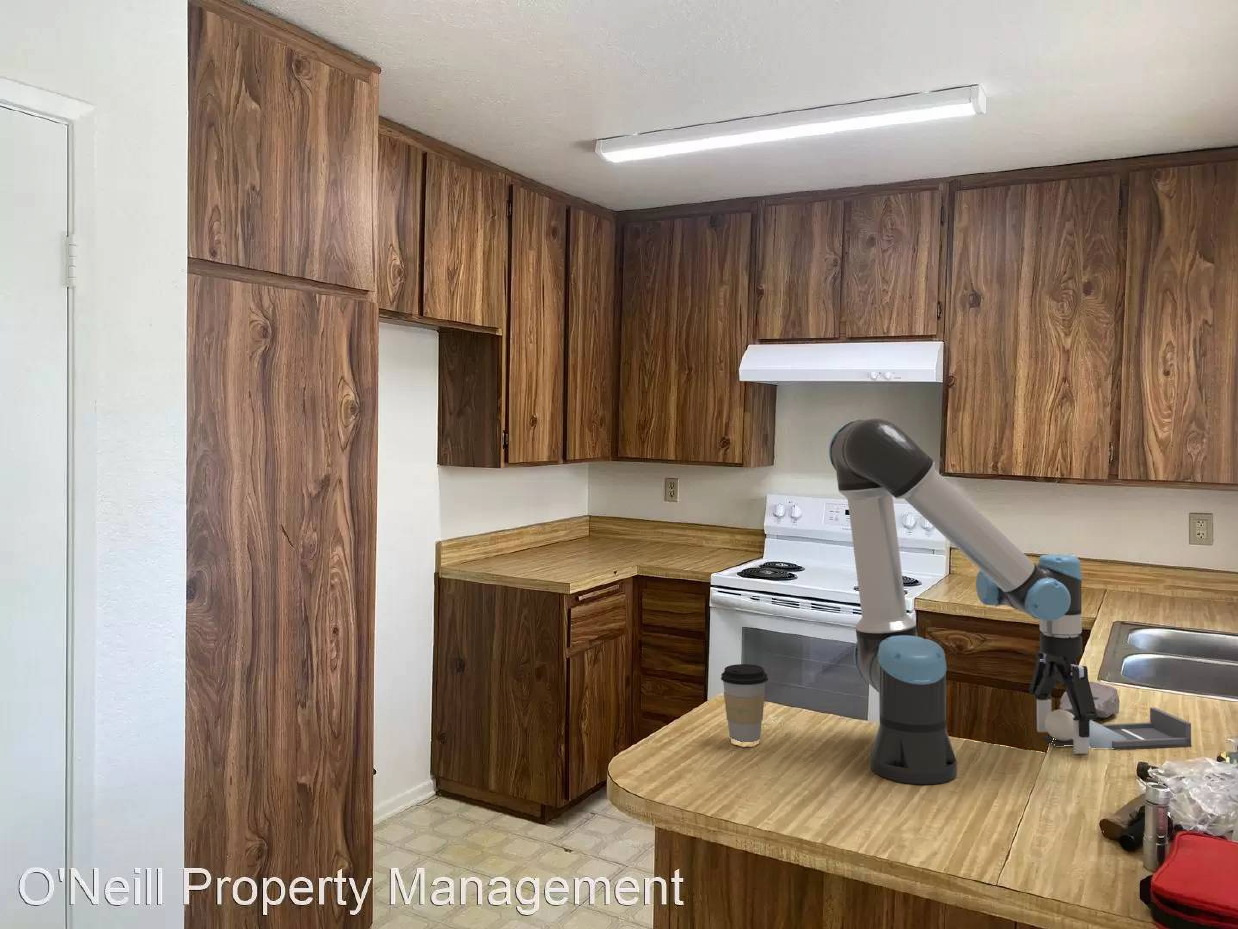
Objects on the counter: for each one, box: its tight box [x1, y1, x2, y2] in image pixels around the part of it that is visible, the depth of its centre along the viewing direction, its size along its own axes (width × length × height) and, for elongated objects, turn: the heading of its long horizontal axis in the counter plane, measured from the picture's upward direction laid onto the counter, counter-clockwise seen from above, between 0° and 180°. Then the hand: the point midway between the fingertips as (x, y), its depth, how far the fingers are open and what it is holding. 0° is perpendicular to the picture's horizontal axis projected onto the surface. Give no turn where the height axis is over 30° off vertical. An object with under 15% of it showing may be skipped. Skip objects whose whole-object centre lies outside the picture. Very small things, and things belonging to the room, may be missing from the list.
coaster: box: [1042, 735, 1073, 747], centre depth 179 cm, size 5×5×1 cm
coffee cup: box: [720, 663, 769, 742], centre depth 183 cm, size 9×9×15 cm
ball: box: [1045, 708, 1075, 741], centre depth 179 cm, size 6×6×6 cm
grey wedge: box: [1089, 719, 1127, 749], centre depth 180 cm, size 9×8×8 cm
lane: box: [1101, 707, 1192, 750], centre depth 180 cm, size 16×11×4 cm
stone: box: [1059, 681, 1120, 719], centre depth 197 cm, size 13×10×6 cm
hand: (1062, 742), depth 179 cm, fingers open, 12 cm apart
